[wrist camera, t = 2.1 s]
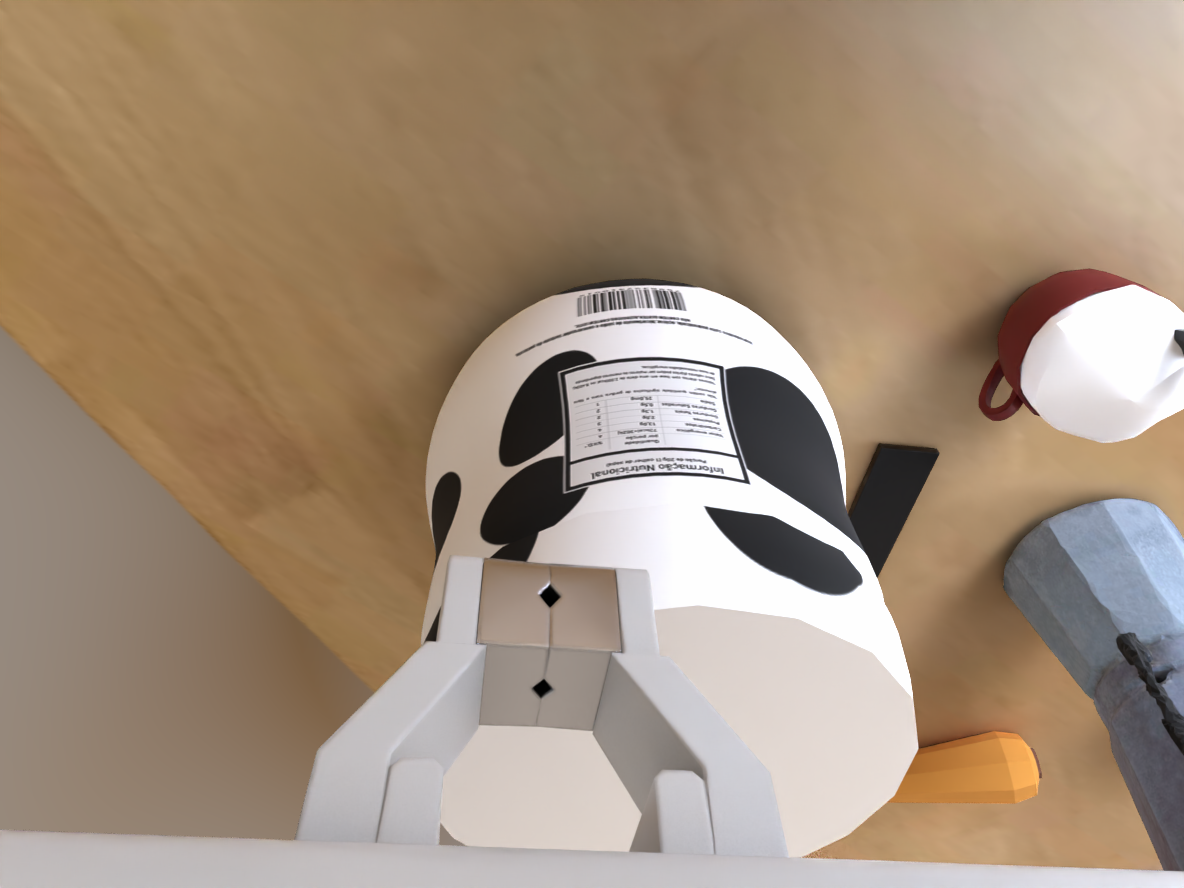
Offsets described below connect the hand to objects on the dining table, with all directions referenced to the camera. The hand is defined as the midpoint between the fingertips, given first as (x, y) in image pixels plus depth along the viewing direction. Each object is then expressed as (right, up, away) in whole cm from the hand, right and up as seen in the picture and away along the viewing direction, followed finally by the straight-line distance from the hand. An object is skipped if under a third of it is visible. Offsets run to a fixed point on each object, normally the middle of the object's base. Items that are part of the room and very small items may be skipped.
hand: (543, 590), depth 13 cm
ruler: (+14, -8, +36) cm, 40 cm away
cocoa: (+21, +8, +24) cm, 33 cm away
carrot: (+20, -20, +45) cm, 53 cm away
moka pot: (+27, -4, +33) cm, 43 cm away
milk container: (+2, +4, +27) cm, 27 cm away
